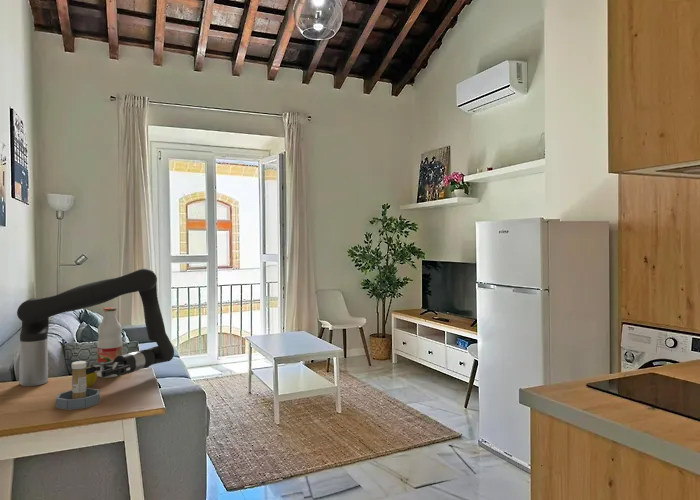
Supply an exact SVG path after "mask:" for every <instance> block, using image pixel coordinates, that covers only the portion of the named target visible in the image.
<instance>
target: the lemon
mask: <svg viewBox="0 0 700 500" xmlns="http://www.w3.org/2000/svg"><path fill="white" fill-rule="evenodd" d="M89 367H91V365H90V366H86V368H89ZM97 380H98V372H95V373H91V374H87V375H86V387H87V388H92V387H91V386H93V385H94V384H95V383H96V382H97Z"/></svg>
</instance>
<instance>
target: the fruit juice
mask: <svg viewBox="0 0 700 500" xmlns="http://www.w3.org/2000/svg"><path fill="white" fill-rule="evenodd" d="M102 311H103V318H102V320H101V322H100V323H99V325H98V327H97V334H98V338H97V345H96V346H97V363H100V362H103V361H105V362H106V363H107V362H110V361H114V359H115V358H116V357H117V356H119V355H123V339H122V335H121V334H122V332H123V331H122V330H123V327H122V325H121V323H120V322H119V321H118V318H117V313H116V312H117V307H113V306H111V307H103V309H102ZM102 370H103V371H104V369H102ZM97 377H100V378H108V379H109V378H116V377H119V376H118V375H110V376H107V377H102V376H101V373H100V372H97Z"/></svg>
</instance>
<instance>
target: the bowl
mask: <svg viewBox="0 0 700 500" xmlns="http://www.w3.org/2000/svg"><path fill="white" fill-rule="evenodd" d="M100 401H101V389H97V388H92V387H86V398H80V399H72V389H70V390H66V391H63V392H59V393H58V394H57V396H56V398H55V408H56V409H59V410H60V409H61V410H65V411H70V410H80V409H87V408H90V407H92V406H96V405H98V404H100Z"/></svg>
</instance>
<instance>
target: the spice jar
mask: <svg viewBox="0 0 700 500" xmlns="http://www.w3.org/2000/svg"><path fill="white" fill-rule="evenodd" d="M86 368H87V361H84V360H79V361H78V360H77V361H73V362H71V370H72V371H71V374H72V375H71V378H72V379H71V385H72V386H71V390H72V399H80V398H86V388H87V386H86Z"/></svg>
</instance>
